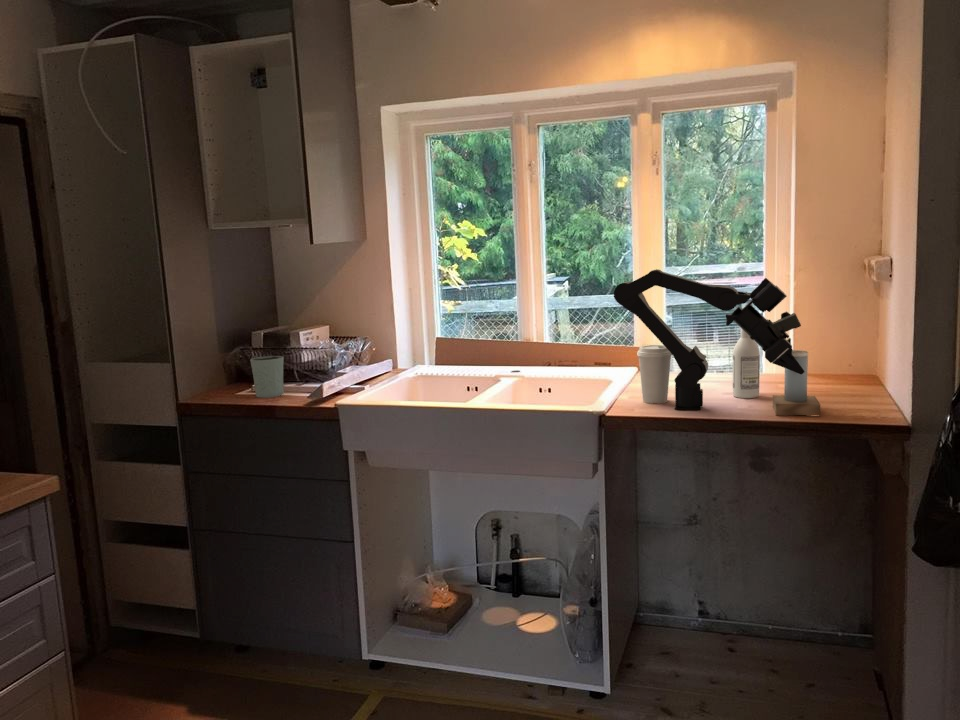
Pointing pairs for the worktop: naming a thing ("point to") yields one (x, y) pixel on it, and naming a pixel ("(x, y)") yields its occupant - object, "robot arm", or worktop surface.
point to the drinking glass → (268, 376)
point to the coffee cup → (654, 372)
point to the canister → (797, 379)
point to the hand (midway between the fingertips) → (802, 369)
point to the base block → (796, 406)
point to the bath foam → (746, 367)
